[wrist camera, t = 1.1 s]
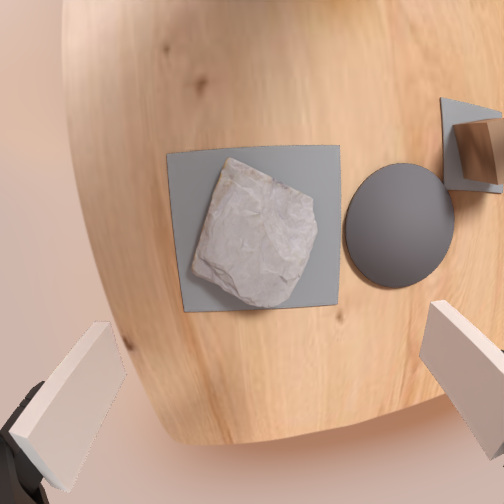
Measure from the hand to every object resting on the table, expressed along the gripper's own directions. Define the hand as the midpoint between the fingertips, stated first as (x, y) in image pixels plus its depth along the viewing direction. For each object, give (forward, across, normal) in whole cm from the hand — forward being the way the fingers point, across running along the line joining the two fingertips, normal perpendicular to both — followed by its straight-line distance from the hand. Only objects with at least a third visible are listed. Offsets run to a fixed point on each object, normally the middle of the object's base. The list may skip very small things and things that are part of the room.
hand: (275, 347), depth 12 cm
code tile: (+19, 0, 0) cm, 19 cm away
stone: (+19, 0, 0) cm, 19 cm away
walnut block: (+19, +25, +9) cm, 32 cm away
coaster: (+19, +15, 0) cm, 24 cm away
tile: (+19, +25, +9) cm, 32 cm away
